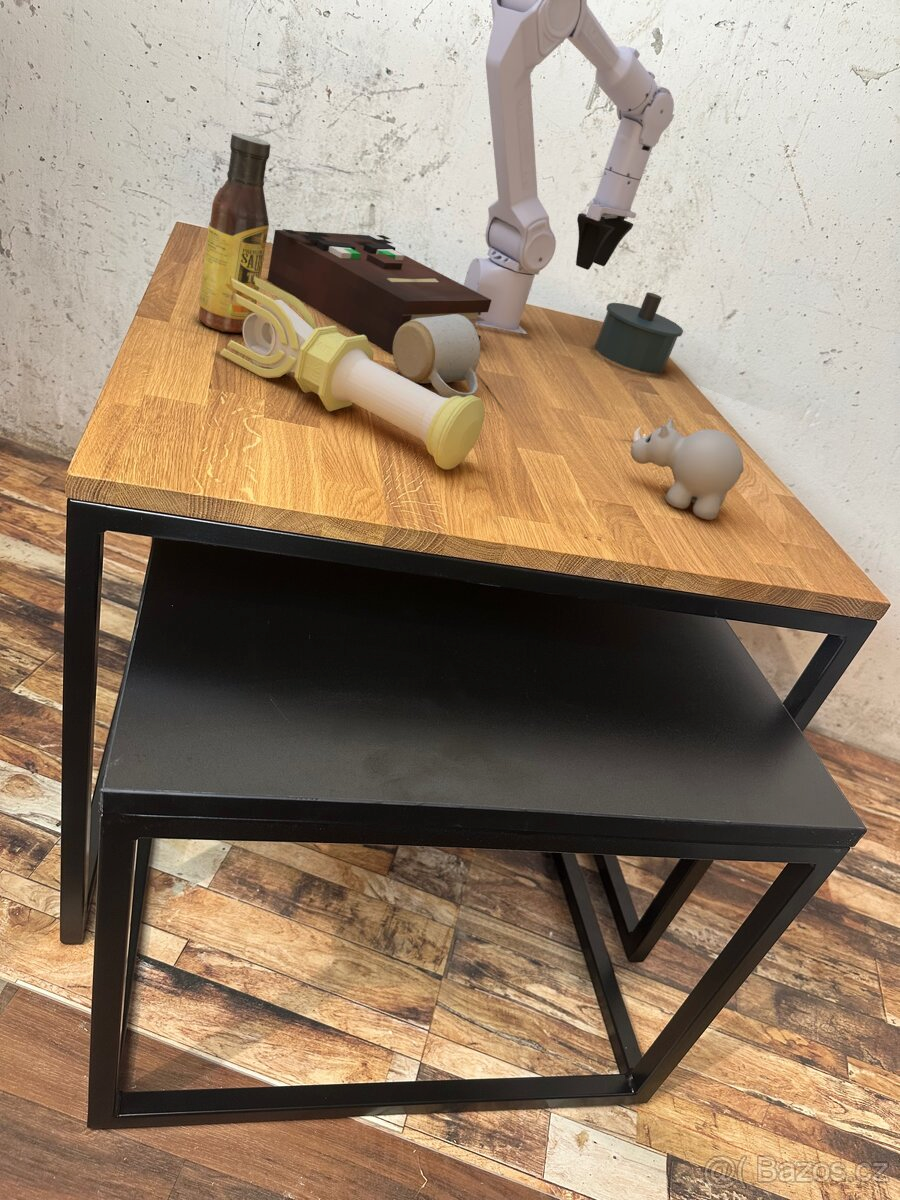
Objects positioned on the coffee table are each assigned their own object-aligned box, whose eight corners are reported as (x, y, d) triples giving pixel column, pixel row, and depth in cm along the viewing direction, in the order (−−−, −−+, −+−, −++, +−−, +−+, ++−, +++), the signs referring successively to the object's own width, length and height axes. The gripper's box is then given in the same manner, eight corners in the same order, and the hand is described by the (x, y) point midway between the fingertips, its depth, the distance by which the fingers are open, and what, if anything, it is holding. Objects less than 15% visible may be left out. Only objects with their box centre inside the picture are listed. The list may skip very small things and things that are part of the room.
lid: (625, 332, 126) (637, 300, 124) (592, 304, 135) (603, 274, 133) (694, 346, 131) (707, 316, 128) (657, 318, 140) (669, 290, 137)
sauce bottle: (239, 340, 97) (267, 149, 87) (187, 322, 98) (208, 129, 87) (261, 327, 103) (289, 146, 92) (211, 310, 103) (234, 127, 93)
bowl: (611, 369, 130) (628, 327, 126) (582, 342, 138) (597, 302, 135) (673, 381, 134) (691, 341, 131) (641, 353, 142) (657, 315, 139)
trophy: (502, 392, 83) (267, 274, 92) (463, 406, 77) (216, 278, 86) (477, 467, 87) (254, 348, 96) (438, 486, 81) (205, 357, 91)
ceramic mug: (381, 367, 103) (397, 304, 98) (429, 364, 108) (446, 304, 104) (441, 408, 98) (461, 343, 93) (488, 403, 103) (509, 341, 99)
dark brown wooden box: (414, 302, 102) (257, 216, 115) (399, 363, 106) (249, 273, 119) (512, 300, 116) (361, 224, 129) (495, 354, 120) (351, 275, 133)
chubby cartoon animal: (627, 464, 99) (656, 394, 94) (725, 509, 96) (761, 439, 91) (608, 481, 93) (638, 408, 89) (712, 529, 90) (749, 456, 85)
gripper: (632, 182, 123) (598, 278, 130) (660, 183, 134) (627, 271, 141) (588, 166, 124) (556, 261, 132) (619, 168, 136) (588, 256, 143)
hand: (590, 265), depth 137 cm, fingers open, 7 cm apart
